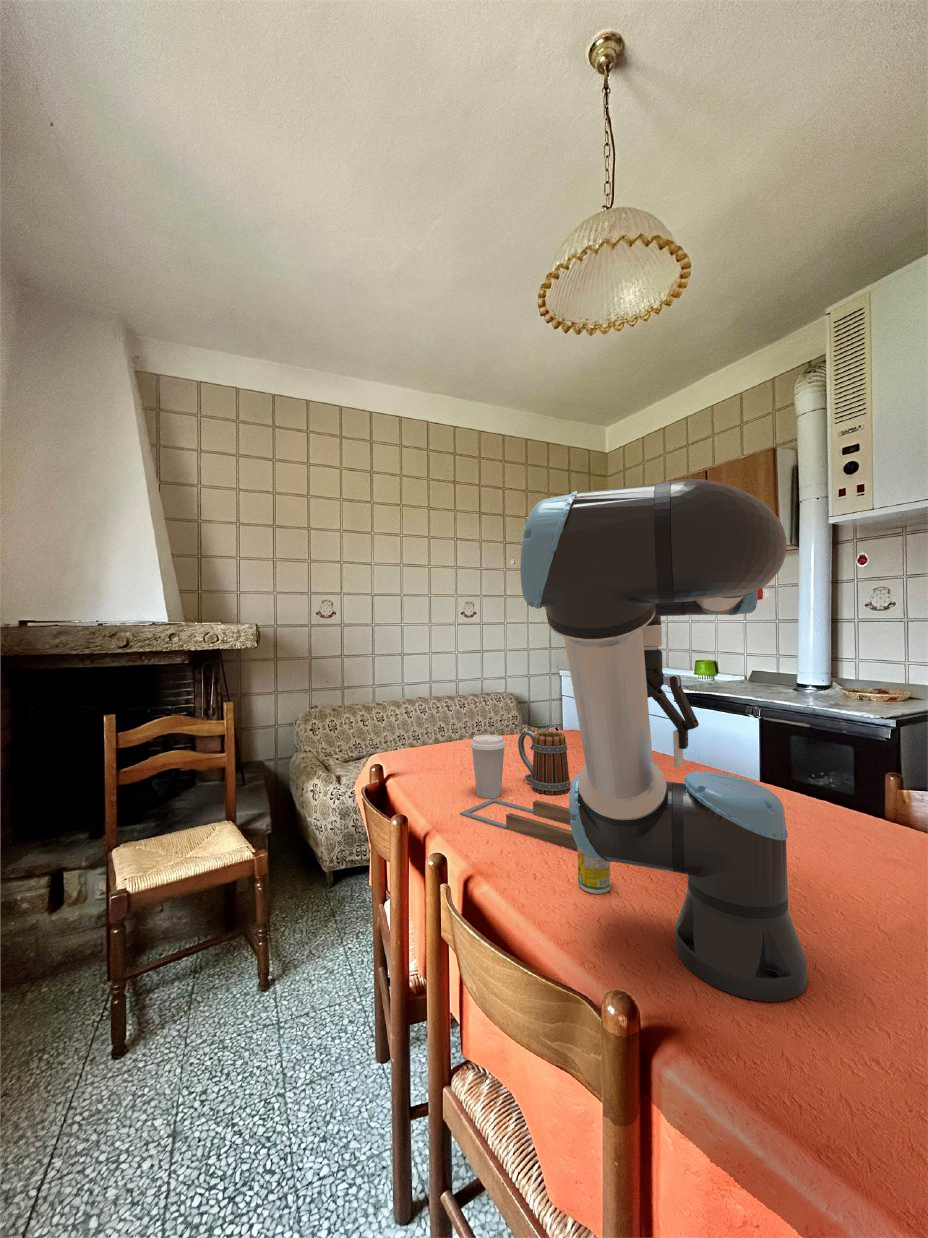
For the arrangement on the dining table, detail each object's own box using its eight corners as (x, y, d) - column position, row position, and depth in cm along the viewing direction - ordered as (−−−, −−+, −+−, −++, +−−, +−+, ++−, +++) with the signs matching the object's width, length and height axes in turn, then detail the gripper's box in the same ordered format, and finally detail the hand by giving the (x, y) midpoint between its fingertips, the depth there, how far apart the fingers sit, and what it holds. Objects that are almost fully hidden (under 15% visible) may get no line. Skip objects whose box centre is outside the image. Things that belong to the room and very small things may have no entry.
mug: (577, 788, 135) (576, 733, 135) (556, 798, 127) (555, 740, 127) (530, 777, 145) (530, 726, 146) (508, 786, 138) (507, 732, 138)
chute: (599, 858, 94) (598, 842, 94) (506, 828, 109) (506, 815, 109) (625, 837, 103) (625, 822, 103) (536, 812, 118) (536, 800, 118)
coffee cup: (463, 796, 130) (463, 739, 130) (483, 786, 138) (482, 732, 138) (494, 803, 124) (493, 743, 125) (513, 792, 132) (512, 736, 133)
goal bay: (505, 829, 108) (505, 827, 108) (459, 814, 117) (459, 813, 117) (537, 812, 118) (537, 810, 118) (493, 799, 127) (493, 798, 127)
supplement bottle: (608, 897, 80) (607, 838, 81) (575, 891, 82) (574, 833, 83) (612, 881, 85) (611, 826, 86) (581, 876, 87) (580, 821, 88)
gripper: (715, 648, 90) (718, 767, 89) (592, 647, 106) (594, 747, 106) (702, 650, 84) (706, 776, 84) (574, 648, 101) (577, 754, 100)
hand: (643, 760), depth 95 cm, fingers open, 12 cm apart
